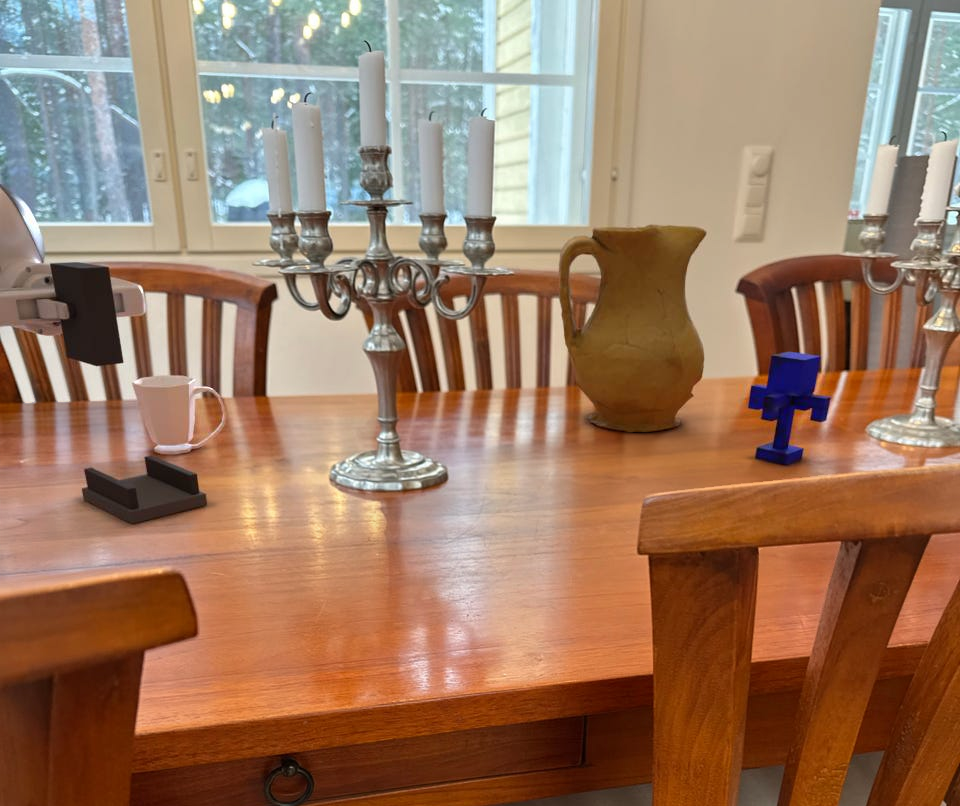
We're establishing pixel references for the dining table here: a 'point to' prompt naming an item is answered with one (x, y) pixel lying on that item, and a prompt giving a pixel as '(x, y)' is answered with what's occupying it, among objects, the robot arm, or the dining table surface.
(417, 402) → the dining table surface
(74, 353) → the upright pad
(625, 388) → the pitcher
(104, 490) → the base pad
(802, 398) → the figurine
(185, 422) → the cup
